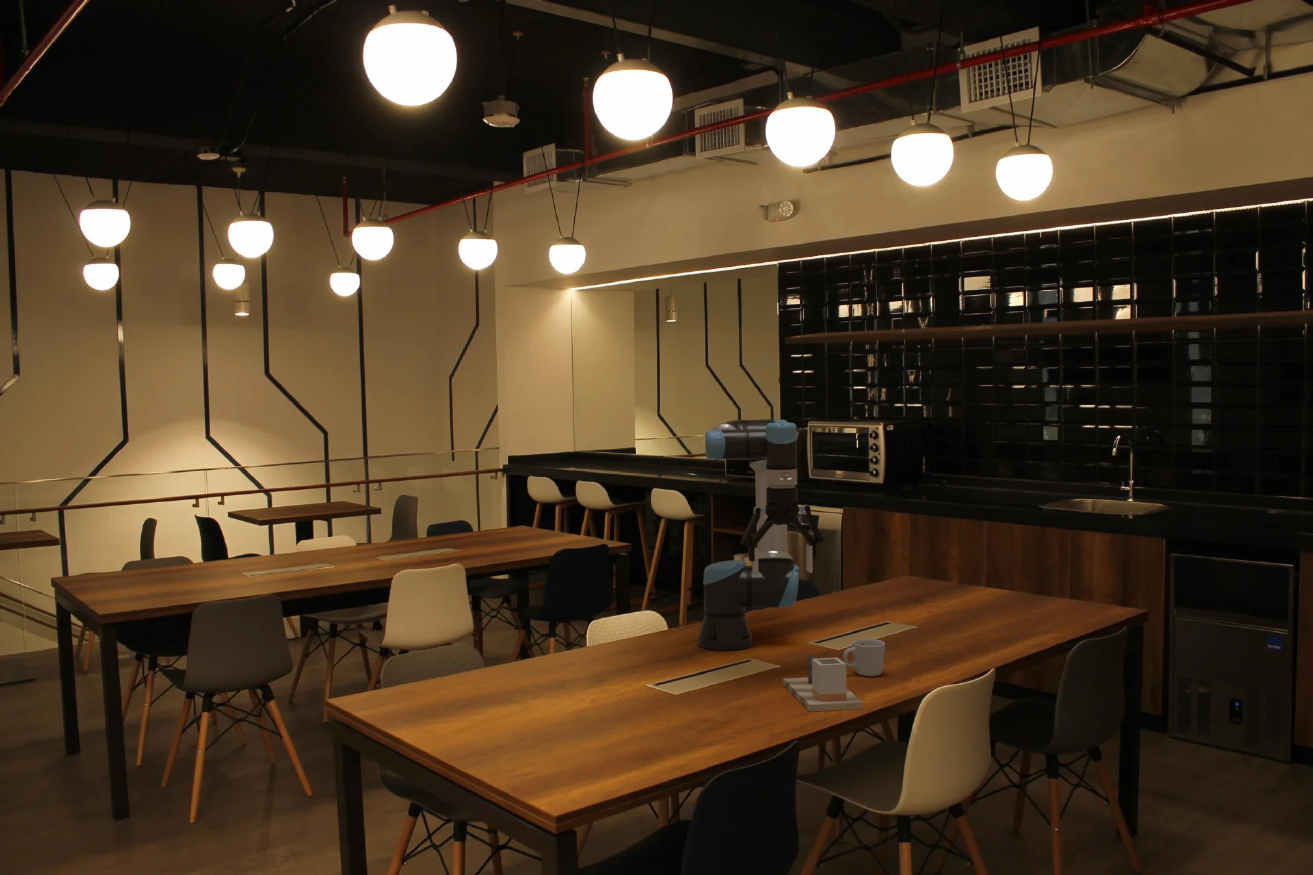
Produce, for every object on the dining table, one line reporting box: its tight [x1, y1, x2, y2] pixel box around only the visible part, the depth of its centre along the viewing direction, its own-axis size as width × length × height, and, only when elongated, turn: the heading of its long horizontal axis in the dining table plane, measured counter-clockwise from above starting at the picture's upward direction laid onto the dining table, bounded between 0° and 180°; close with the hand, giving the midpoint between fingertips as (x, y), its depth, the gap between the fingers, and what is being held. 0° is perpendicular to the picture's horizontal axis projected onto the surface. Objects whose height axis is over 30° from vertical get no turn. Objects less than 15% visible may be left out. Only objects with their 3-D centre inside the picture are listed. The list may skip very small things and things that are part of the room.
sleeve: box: [812, 657, 848, 701], centre depth 224 cm, size 6×6×8 cm
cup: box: [842, 638, 886, 677], centre depth 248 cm, size 11×8×8 cm
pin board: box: [782, 655, 864, 712], centre depth 230 cm, size 22×12×8 cm, turn 8°
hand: (782, 573), depth 244 cm, fingers open, 13 cm apart
